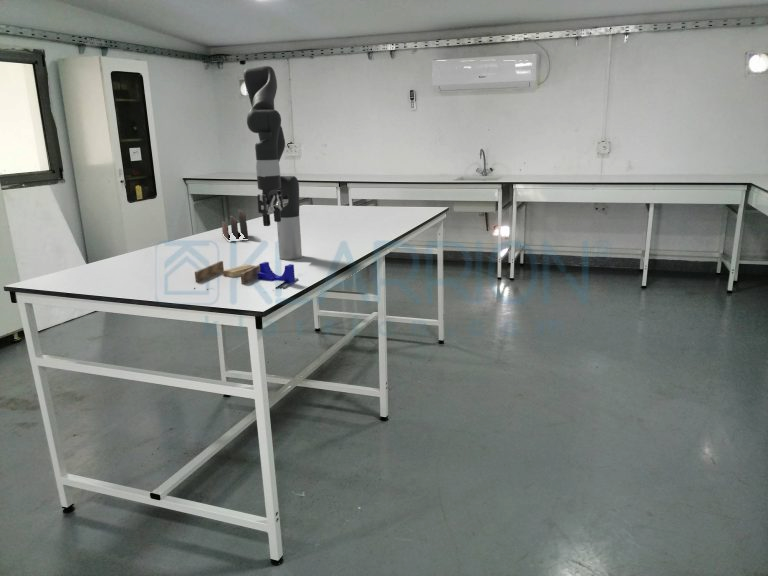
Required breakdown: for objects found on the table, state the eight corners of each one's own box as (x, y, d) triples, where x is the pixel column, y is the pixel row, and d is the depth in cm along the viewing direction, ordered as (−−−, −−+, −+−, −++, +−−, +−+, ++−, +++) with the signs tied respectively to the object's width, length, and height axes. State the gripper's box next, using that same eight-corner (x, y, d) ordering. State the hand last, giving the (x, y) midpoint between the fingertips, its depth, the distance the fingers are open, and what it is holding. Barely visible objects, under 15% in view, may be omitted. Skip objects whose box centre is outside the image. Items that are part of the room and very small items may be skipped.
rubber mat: (269, 278, 196) (268, 277, 195) (298, 279, 193) (298, 278, 193) (253, 287, 184) (253, 285, 184) (284, 288, 182) (284, 286, 182)
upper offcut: (223, 275, 195) (222, 270, 195) (246, 269, 204) (245, 264, 204) (233, 277, 193) (232, 272, 192) (256, 271, 202) (255, 265, 201)
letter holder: (242, 235, 290) (239, 208, 287) (248, 240, 273) (246, 212, 269) (222, 236, 286) (219, 209, 283) (228, 242, 269) (225, 213, 265)
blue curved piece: (258, 281, 189) (256, 264, 188) (266, 278, 193) (265, 261, 192) (287, 284, 184) (285, 267, 183) (294, 281, 188) (293, 264, 186)
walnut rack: (221, 274, 204) (220, 261, 202) (266, 276, 199) (265, 262, 198) (196, 286, 188) (194, 271, 186) (244, 288, 184) (243, 273, 182)
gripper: (267, 172, 187) (271, 220, 192) (247, 176, 174) (252, 227, 178) (287, 172, 186) (291, 220, 190) (269, 175, 172) (274, 227, 177)
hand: (272, 223), depth 184 cm, fingers open, 8 cm apart
